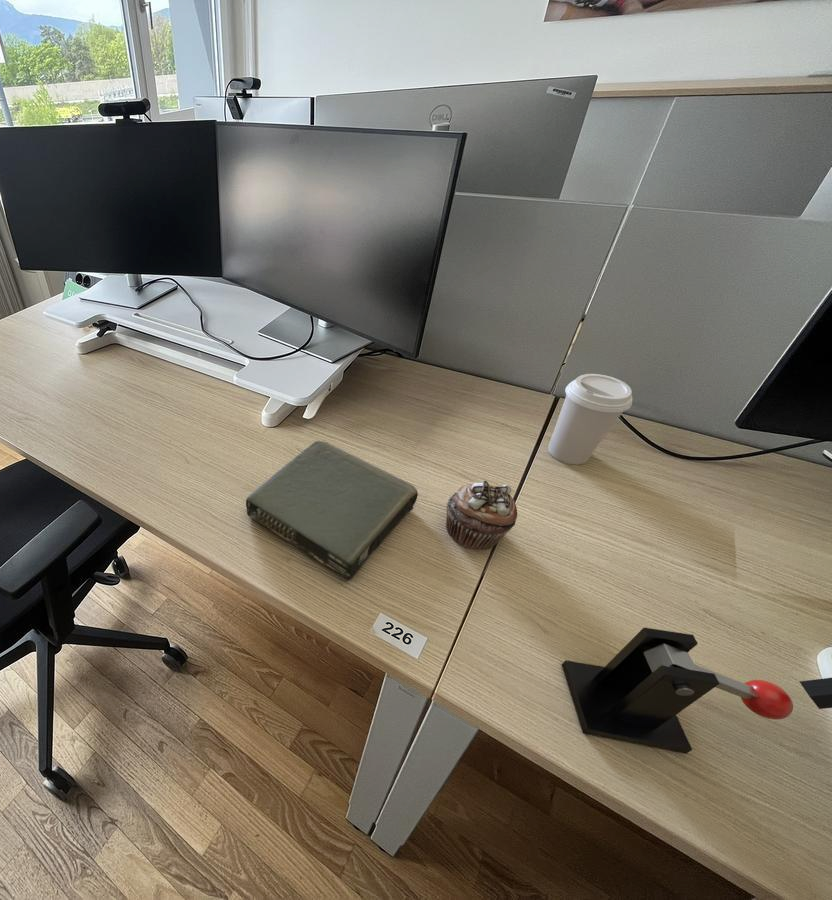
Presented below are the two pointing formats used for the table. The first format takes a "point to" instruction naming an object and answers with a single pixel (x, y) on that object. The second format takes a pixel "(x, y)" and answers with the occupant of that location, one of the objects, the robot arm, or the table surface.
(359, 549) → the network switch
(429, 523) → the table surface
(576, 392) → the coffee cup
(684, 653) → the switch lever
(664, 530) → the table surface
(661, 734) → the switch bracket
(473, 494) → the cupcake
